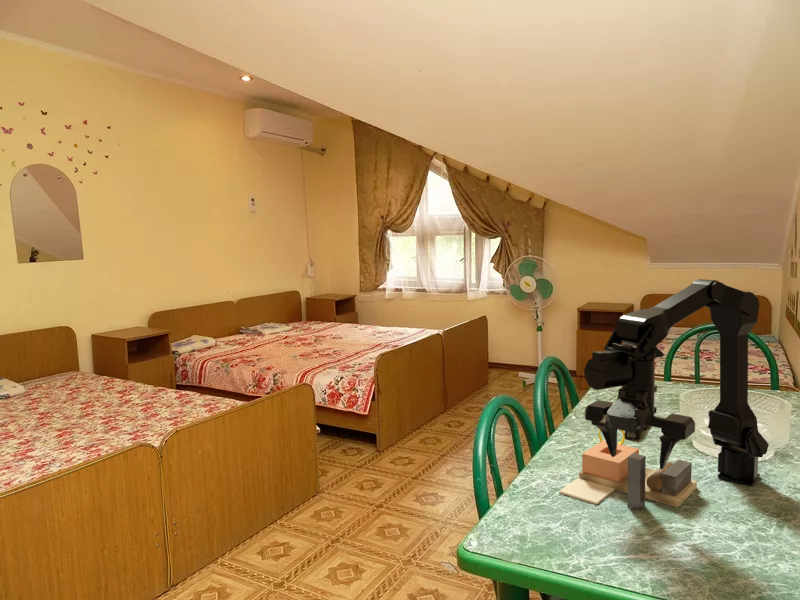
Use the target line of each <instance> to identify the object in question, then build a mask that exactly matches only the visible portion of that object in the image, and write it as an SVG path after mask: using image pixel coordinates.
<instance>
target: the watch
mask: <svg viewBox="0 0 800 600" xmlns="http://www.w3.org/2000/svg"><path fill="white" fill-rule="evenodd" d="M598 429H599V428H598ZM620 432H621V434H622V439H621V441H620V442H617V444H620V445H624V442H625V440H626V439H625V431H623V430H620ZM601 433H602V432H601V430H600V429H599V430H598V439H599V441H600V442H602V441H604V440H603V438H602V436H601Z"/></svg>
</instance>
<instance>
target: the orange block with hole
mask: <svg viewBox="0 0 800 600" xmlns="http://www.w3.org/2000/svg"><path fill="white" fill-rule="evenodd" d="M632 453H635V454H639V455H640V449H639V448H637V447H632V446H627V445H624V444H622V445H620V444H618V443H617V450H616V456H615V457H612V456H611V454H610V451H609V449H608V446H607V443H606V441H605V440H603V441H602V442H601V441H600V442H599V443H597V444H595V445H594V446H592V447H591V448H589V449H587V450H586V451H584V452H583V453H582V457H581V458H582V461H581V462H582V463H581V464H582V467H581V469H582V470H581V471H582V472H585V473H589V474H592V475H596V476H599V477H603V478H607V479H610V480H614V481H617V482H620V481H621V480H622V479H624V478H625V477H626V476H627V475H628V456H630V455H631V454H632Z"/></svg>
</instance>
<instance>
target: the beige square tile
mask: <svg viewBox="0 0 800 600" xmlns="http://www.w3.org/2000/svg"><path fill="white" fill-rule="evenodd" d="M615 491H616V490H615V489H614V488H611V487H607V486H604V485H600V484H597V483H593V482H590V481H586V480H583V479H580V478H576V479H575V480H573V481H572V482H570V483H569V484H567V485H566V486H565V487H563V488H561V489H560V490H559V494H562V495H565V496H568V497H570V498H573V499H576V500H577V499H578V500H581V501H584V502H587V503H590V504H594V505H598V504H600V503H602V501H603V500H605V499H606V498H607V497H609V496H610V495H611V494H612V493H613V492H615Z"/></svg>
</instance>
